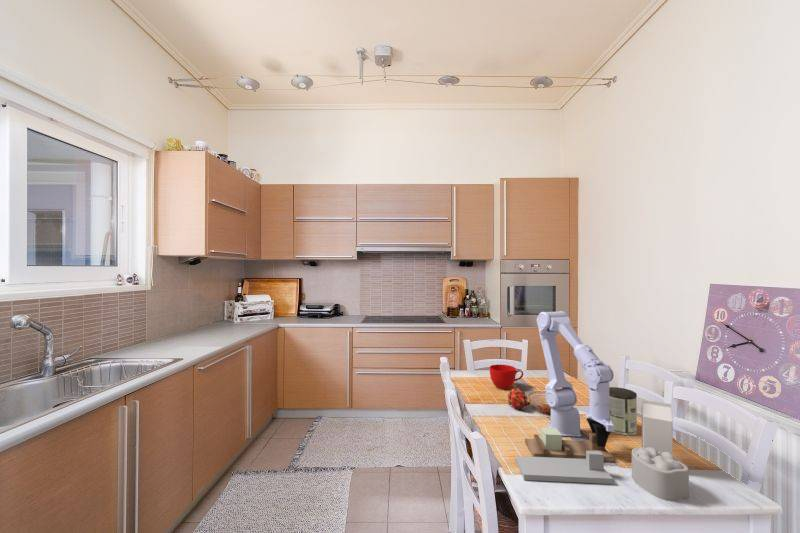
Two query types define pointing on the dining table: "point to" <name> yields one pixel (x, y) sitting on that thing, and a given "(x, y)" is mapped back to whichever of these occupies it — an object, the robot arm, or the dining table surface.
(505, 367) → the ceramic cup
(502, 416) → the dining table surface
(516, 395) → the dragon fruit
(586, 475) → the slate strip
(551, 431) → the cube
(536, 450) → the walnut strip
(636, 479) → the lumpy-topped squat cylinder
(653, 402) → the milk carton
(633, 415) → the coffee can
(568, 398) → the robot arm
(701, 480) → the dining table surface
